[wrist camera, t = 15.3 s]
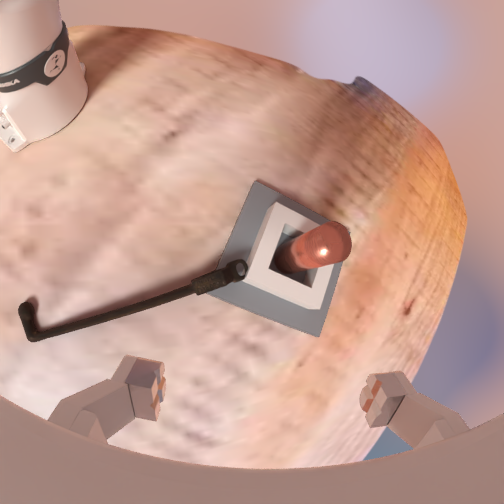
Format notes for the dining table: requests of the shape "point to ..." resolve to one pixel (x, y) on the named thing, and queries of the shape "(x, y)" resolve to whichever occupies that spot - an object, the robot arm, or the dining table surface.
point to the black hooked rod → (198, 286)
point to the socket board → (265, 271)
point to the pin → (314, 249)
